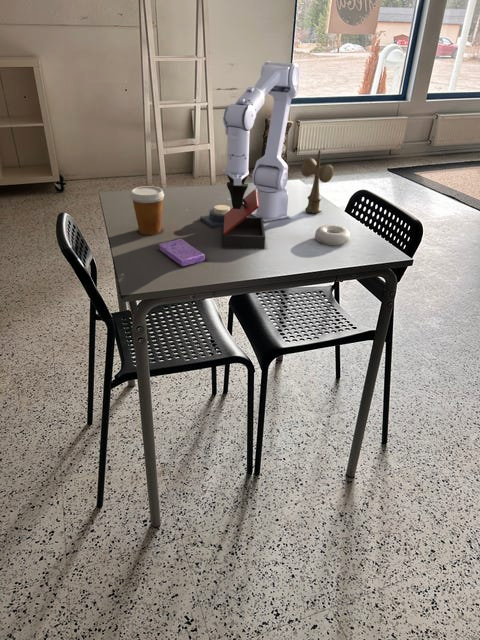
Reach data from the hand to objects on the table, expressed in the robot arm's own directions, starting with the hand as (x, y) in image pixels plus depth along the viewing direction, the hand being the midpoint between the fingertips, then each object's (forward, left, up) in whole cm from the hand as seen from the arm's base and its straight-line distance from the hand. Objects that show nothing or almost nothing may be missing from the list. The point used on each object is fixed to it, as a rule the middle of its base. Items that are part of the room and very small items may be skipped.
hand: (236, 204), depth 138 cm
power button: (-3, -14, -7) cm, 16 cm away
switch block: (-3, -14, -10) cm, 17 cm away
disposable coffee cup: (+20, -16, -10) cm, 27 cm away
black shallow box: (-2, +1, -10) cm, 10 cm away
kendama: (-34, -8, -10) cm, 36 cm away
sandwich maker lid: (-1, +1, -2) cm, 3 cm away
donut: (-24, +14, -10) cm, 30 cm away
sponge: (+19, +4, -10) cm, 22 cm away
